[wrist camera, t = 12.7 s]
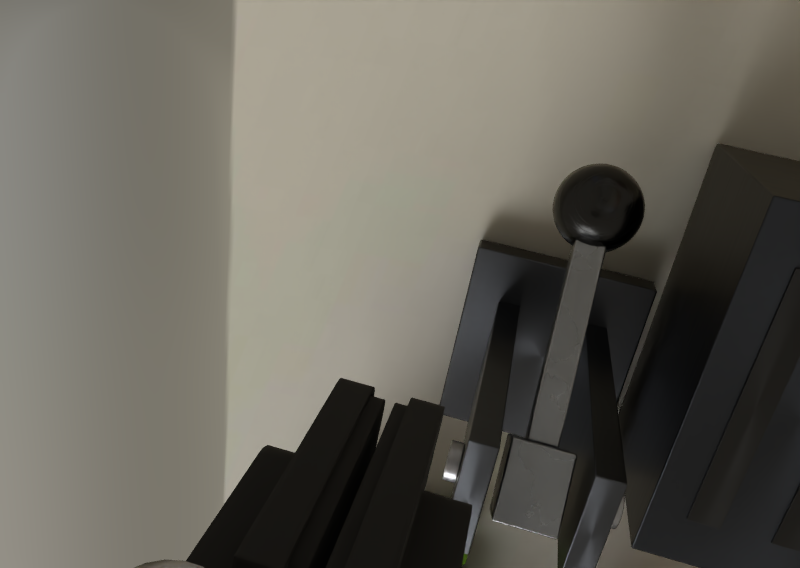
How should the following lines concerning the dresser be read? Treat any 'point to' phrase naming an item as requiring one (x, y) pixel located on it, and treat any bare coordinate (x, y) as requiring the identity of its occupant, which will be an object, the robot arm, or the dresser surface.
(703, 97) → the dresser surface
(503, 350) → the lever bracket
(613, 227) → the toaster lever
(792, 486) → the toaster
